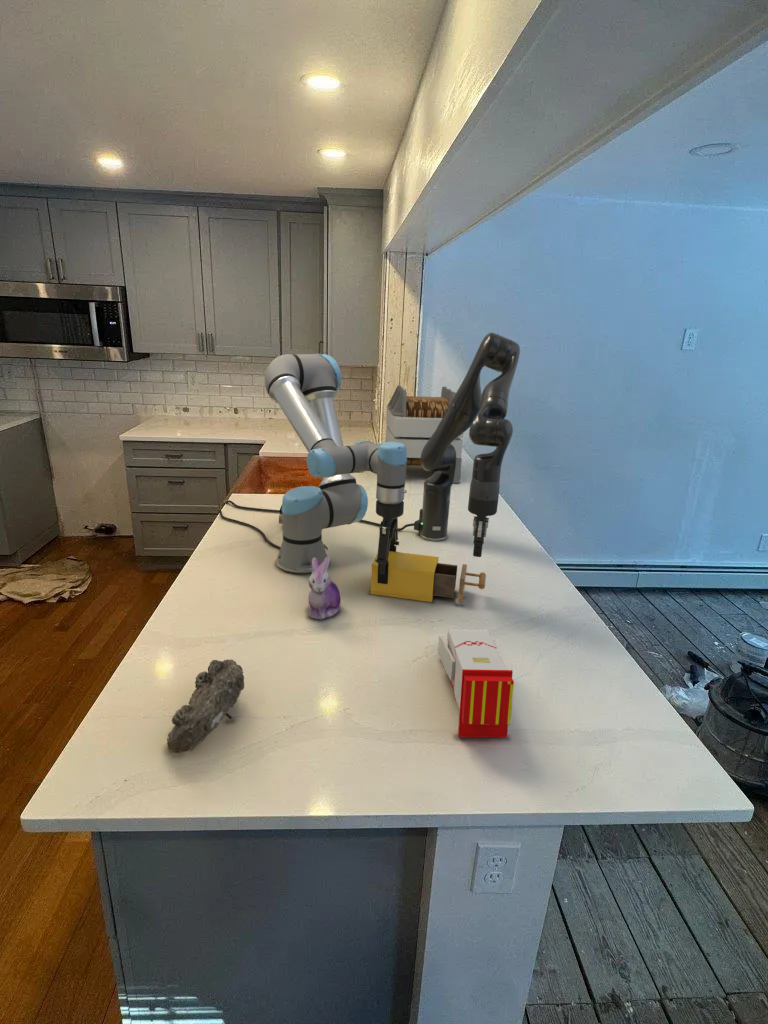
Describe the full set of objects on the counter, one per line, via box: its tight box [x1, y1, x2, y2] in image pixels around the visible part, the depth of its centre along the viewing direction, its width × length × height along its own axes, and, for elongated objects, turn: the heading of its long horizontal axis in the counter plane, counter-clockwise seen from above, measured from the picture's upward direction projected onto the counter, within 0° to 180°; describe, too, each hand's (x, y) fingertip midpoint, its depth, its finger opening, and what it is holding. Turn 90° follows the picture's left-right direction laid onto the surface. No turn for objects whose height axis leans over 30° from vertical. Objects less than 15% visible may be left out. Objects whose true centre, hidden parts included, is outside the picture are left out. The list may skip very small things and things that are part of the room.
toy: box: [437, 628, 515, 738], centre depth 117 cm, size 12×13×30 cm
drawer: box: [433, 562, 487, 603], centre depth 157 cm, size 21×9×7 cm, turn 78°
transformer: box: [384, 384, 464, 484], centre depth 268 cm, size 34×33×41 cm
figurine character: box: [278, 505, 283, 525], centre depth 204 cm, size 7×8×15 cm
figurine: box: [307, 555, 342, 620], centre depth 144 cm, size 9×10×15 cm
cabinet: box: [370, 551, 440, 603], centre depth 159 cm, size 17×10×9 cm, turn 78°
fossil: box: [166, 658, 245, 754], centre depth 106 cm, size 22×10×15 cm
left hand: (386, 574), depth 160 cm, fingers closed on cabinet, 10 cm apart
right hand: (477, 555), depth 153 cm, fingers closed
